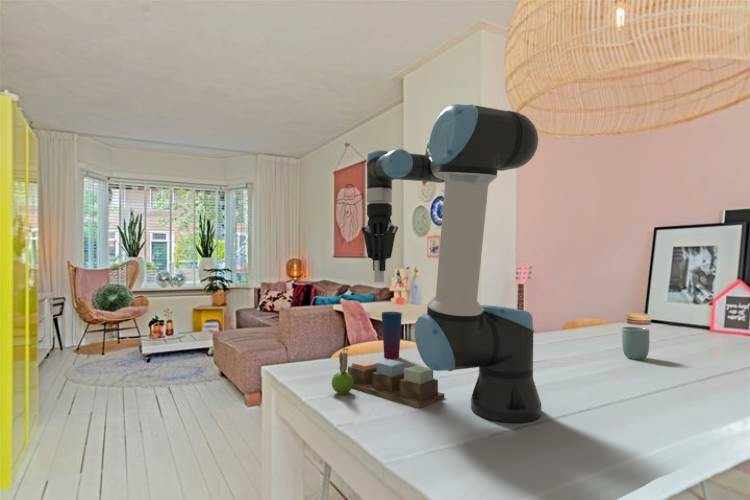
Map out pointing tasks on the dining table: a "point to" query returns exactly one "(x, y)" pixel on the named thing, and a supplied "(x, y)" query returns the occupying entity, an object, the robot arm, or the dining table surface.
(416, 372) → the sage key
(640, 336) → the cup
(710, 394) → the dining table surface
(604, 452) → the dining table surface
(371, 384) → the wooden socket tray
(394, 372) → the slate key
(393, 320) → the cup
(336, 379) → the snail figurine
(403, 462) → the dining table surface
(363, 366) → the terracotta key
